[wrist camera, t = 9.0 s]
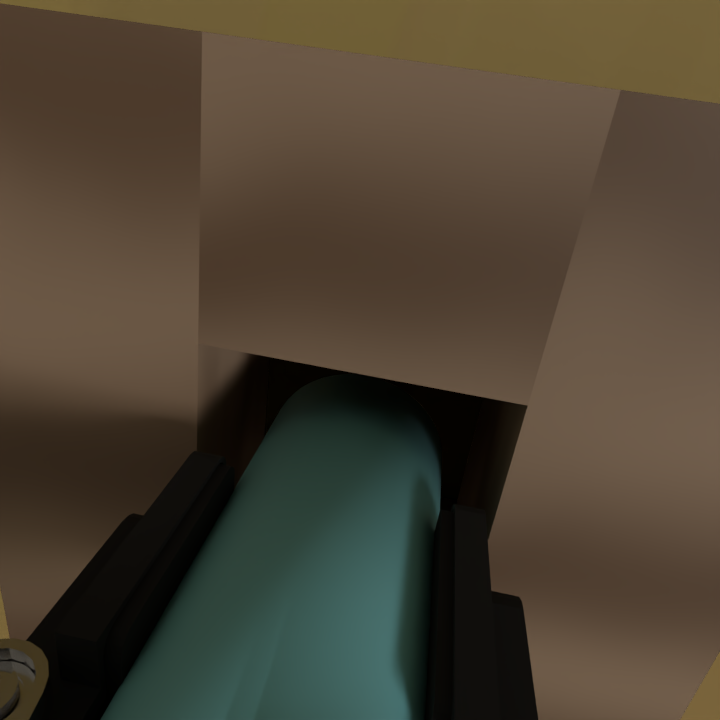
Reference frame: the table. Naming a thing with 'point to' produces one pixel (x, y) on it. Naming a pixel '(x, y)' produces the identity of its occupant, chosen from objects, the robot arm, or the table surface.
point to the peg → (308, 573)
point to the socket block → (370, 312)
